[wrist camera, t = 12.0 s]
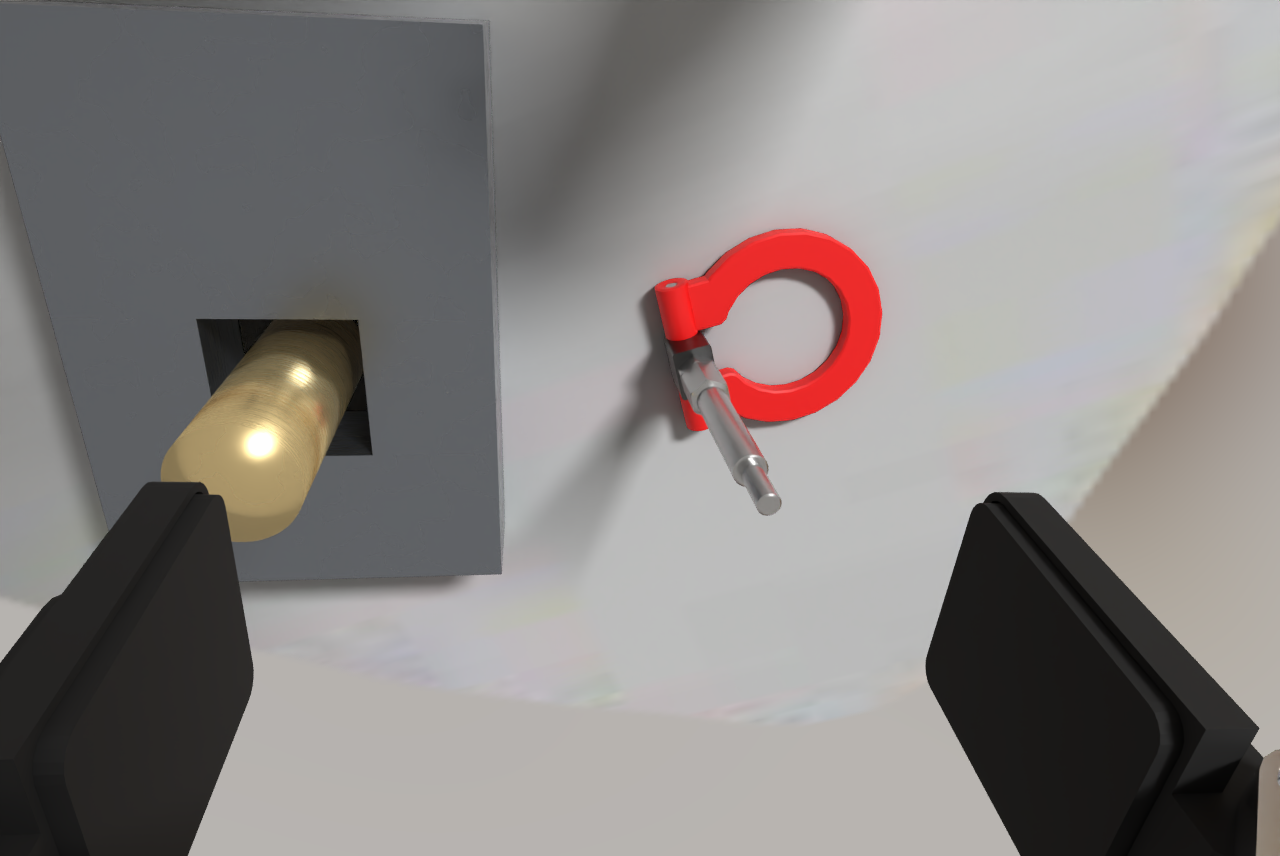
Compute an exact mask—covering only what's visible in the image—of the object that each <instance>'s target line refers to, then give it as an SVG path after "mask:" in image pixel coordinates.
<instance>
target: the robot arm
mask: <svg viewBox="0 0 1280 856" xmlns="http://www.w3.org/2000/svg"><path fill="white" fill-rule="evenodd" d="M253 671H254V670H253V662H252V656H251V650H250V644H249V639H248V633H247V627H246V621H245V616H244V610H243V604H242V598H241V593H240V587H239V581H238V575H237V570H236V564H235V558H234V552H233V547H232V541H231V535H230V529H229V524H228V518H227V512H226V506H225V503H224V500H223V498H222V496H220V495H212V494H209V492H208V490H207V488H206V486H205V485H204V484H203V483H201V482H153V481H152V482H147V483H146V484H145V485H144V486H143V487H142V488H141V490H140V491H139V492H138V494H137V495H136V496H135V498H134V499H133V500H132V502H131V503H130V504H129V506H128V507H127V508H126V509H125V511H124V512H123V513H122V515H121V516H120V517H119V519H118V520H117V521H116V523H115V524H114V525H113V527H112V528H111V529H110V531H109V532H108V533H107V535H106V536H105V537H104V539H103V540H102V541H101V543H100V544H99V545H98V547H97V548H96V549H95V551H94V552H93V553H92V555H91V556H90V557H89V559H88V560H87V561H86V563H85V564H84V565H83V567H82V568H81V569H80V571H79V572H78V573H77V575H76V576H75V577H74V579H73V580H72V581H71V583H70V584H69V585H68V587H67V588H66V589H65V591H64V592H63V593H62V594H61V595H59V596H56V597H54V598H52V599H51V600H50V601H49V602H48V603H47V604H46V605H45V606H44V607H43V608H42V609H41V611H40V612H39V613H38V614H37V616H36V617H35V618H34V620H33V621H32V622H31V624H30V625H29V626H28V627H27V629H26V630H25V631H24V633H23V634H22V635H21V637H20V638H19V639H18V641H17V642H16V643H15V644H14V646H13V647H12V648H11V650H10V651H9V652H8V654H7V655H6V656H5V657H4V659H3V660H2V662H1V663H0V856H188V853H189V851H190V848H191V846H192V843H193V841H194V838H195V836H196V833H197V830H198V828H199V825H200V823H201V820H202V818H203V815H204V813H205V810H206V808H207V805H208V802H209V800H210V797H211V795H212V792H213V789H214V787H215V785H216V782H217V779H218V777H219V774H220V772H221V769H222V767H223V764H224V762H225V759H226V757H227V754H228V752H229V749H230V746H231V744H232V741H233V739H234V736H235V734H236V731H237V729H238V726H239V724H240V721H241V718H242V716H243V713H244V711H245V708H246V706H247V703H248V701H249V697H250V695H251V691H252V686H253ZM926 676H927V680H928V683H929V685H930V688H931V690H932V691H933V693H934V695H935V697H936V699H937V701H938V703H939V705H940V706H941V708H942V710H943V712H944V714H945V716H946V718H947V719H948V721H949V723H950V725H951V727H952V729H953V731H954V732H955V734H956V736H957V738H958V740H959V742H960V743H961V745H962V747H963V749H964V751H965V753H966V755H967V757H968V759H969V760H970V762H971V764H972V766H973V768H974V770H975V772H976V774H977V775H978V777H979V779H980V781H981V783H982V785H983V787H984V788H985V790H986V792H987V794H988V796H989V798H990V800H991V801H992V803H993V805H994V807H995V809H996V811H997V813H998V814H999V816H1000V818H1001V820H1002V822H1003V824H1004V826H1005V828H1006V829H1007V831H1008V833H1009V835H1010V837H1011V839H1012V841H1013V843H1014V844H1015V846H1016V848H1017V850H1018V852H1019V854H1020V856H1280V749H1279V750H1275V751H1273V752H1271V753H1270V754H1268V755H1267V756H1265V757H1264V758H1263V757H1262V756H1261V755H1260V753H1259V752H1258V751H1257V750H1256V749H1255V748H1254V747H1253V746H1252V745H1251V742H1252V740H1253V739H1254V737H1255V735H1256V733H1257V732H1258V730H1259V727H1258V726H1257V725H1256V724H1255V723H1254V722H1253V721H1252V720H1251V719H1250V718H1249V717H1248V715H1247V714H1246V713H1245V712H1244V711H1243V710H1242V709H1241V708H1240V707H1239V706H1238V705H1237V704H1236V703H1235V702H1234V700H1233V699H1232V698H1231V697H1230V696H1229V695H1228V694H1227V693H1226V692H1225V691H1224V690H1223V689H1222V688H1221V687H1220V686H1219V684H1218V683H1217V682H1216V681H1215V680H1214V679H1213V678H1212V677H1211V676H1210V675H1209V674H1208V673H1207V672H1206V671H1205V670H1204V668H1203V667H1202V666H1201V665H1200V664H1199V663H1198V662H1197V661H1196V660H1195V659H1194V658H1193V657H1192V656H1191V655H1190V654H1189V653H1188V651H1187V650H1186V649H1185V648H1184V647H1183V646H1182V645H1181V644H1180V643H1179V642H1178V641H1177V640H1176V638H1175V637H1174V636H1173V635H1172V634H1171V633H1170V632H1169V631H1168V630H1167V629H1166V628H1165V627H1164V626H1163V625H1162V624H1161V622H1160V621H1159V620H1158V619H1157V618H1156V617H1155V616H1154V615H1153V614H1152V613H1151V612H1150V611H1149V610H1148V609H1147V608H1146V606H1145V605H1144V604H1143V603H1142V602H1141V601H1140V600H1139V599H1138V598H1137V597H1136V596H1135V595H1134V594H1133V593H1132V592H1131V590H1129V588H1128V587H1127V586H1126V585H1125V584H1124V583H1123V582H1122V581H1121V580H1120V579H1119V578H1118V577H1117V576H1116V575H1115V573H1114V572H1113V571H1112V570H1111V569H1110V568H1109V567H1108V566H1107V565H1106V564H1105V563H1104V562H1103V561H1102V559H1101V558H1100V557H1099V556H1098V555H1097V554H1096V553H1095V552H1094V551H1093V550H1092V549H1091V548H1090V547H1089V546H1088V545H1087V543H1086V542H1085V541H1084V540H1083V539H1082V538H1081V537H1080V536H1079V535H1078V534H1077V533H1076V532H1075V531H1074V530H1073V528H1072V527H1071V526H1070V525H1069V524H1068V523H1067V522H1066V521H1065V520H1064V519H1063V518H1062V517H1061V516H1060V515H1059V513H1058V512H1057V511H1056V510H1055V509H1054V508H1053V507H1052V506H1051V505H1050V504H1049V503H1048V502H1047V501H1046V500H1045V499H1044V498H1043V497H1042V496H1041V495H1039V494H1037V493H1012V492H994V493H992V494H989V496H988V497H987V498H986V499H985V501H984V503H979V504H977V505H976V506H975V507H974V508H973V510H972V512H971V514H970V518H969V521H968V524H967V527H966V531H965V534H964V537H963V540H962V544H961V547H960V550H959V553H958V557H957V560H956V563H955V566H954V569H953V573H952V576H951V579H950V582H949V586H948V589H947V592H946V595H945V599H944V602H943V605H942V608H941V612H940V615H939V618H938V621H937V625H936V628H935V631H934V634H933V637H932V641H931V644H930V647H929V650H928V654H927V658H926Z"/></svg>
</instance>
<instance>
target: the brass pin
mask: <svg viewBox="0 0 1280 856" xmlns="http://www.w3.org/2000/svg"><path fill="white" fill-rule="evenodd" d="M363 371H364V369H363V360H362V351H361V341H360V332H359V328H358V326H357V325H356V324H355V323H354V322H353V321H352V320H314V319H274V320H273V321H272V322H271V324H270V325H269V326H268V327H267V328H266V330H265V331H264V332H263V333H262V335H261V336H260V337H259V338H258V340H257V341H256V342H255V343H254V345H253V346H252V347H251V348H250V350H249V351H248V352H247V353H246V354H245V356H244V357H243V358H242V359H241V361H240V362H239V363H238V364H237V366H236V367H235V368H234V369H233V371H232V372H231V373H230V374H229V375H228V377H227V378H226V379H225V380H224V382H223V383H222V384H221V385H220V387H219V388H218V389H217V390H216V392H215V393H214V394H213V395H212V396H211V398H210V399H209V400H208V401H207V403H206V404H205V405H204V406H203V408H202V409H201V410H200V411H199V413H198V414H197V415H196V416H195V418H194V419H193V420H192V421H191V422H190V424H189V425H188V426H187V427H186V429H185V430H184V431H183V432H182V434H181V435H180V436H179V437H178V439H177V440H176V441H175V442H174V443H173V445H172V446H171V447H170V448H169V450H168V451H167V453H166V455H165V457H164V460H163V462H162V467H161V482H201V483H203V484H204V485H205V486H206V488H207V490H208V492H209V494H212V495H220V496H222V498H223V500H224V503H225V506H226V512H227V518H228V524H229V529H230V535H231V541H232V542H253V541H258V540H263V539H266V538H269V537H271V536H274V535H276V534H278V533H279V532H281V531H283V530H284V529H285V528H287V527H288V526H289V525H290V524H291V523H292V522H293V521H294V519H295V518H296V516H297V515H298V513H299V511H300V509H301V507H302V505H303V503H304V500H305V498H306V496H307V494H308V492H309V490H310V487H311V485H312V483H313V481H314V479H315V476H316V474H317V472H318V470H319V468H320V465H321V463H322V461H323V459H324V457H325V455H326V452H327V450H328V448H329V446H330V444H331V441H332V439H333V437H334V435H335V433H336V430H337V428H338V426H339V424H340V422H341V420H342V417H343V415H344V413H345V411H346V409H347V406H348V404H349V402H350V400H351V398H352V395H353V393H354V391H355V389H356V387H357V385H358V382H359V380H360V378H361V376H362V374H363Z"/></svg>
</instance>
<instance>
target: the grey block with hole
mask: <svg viewBox="0 0 1280 856" xmlns="http://www.w3.org/2000/svg"><path fill="white" fill-rule="evenodd" d="M0 136H1V139H2V143H3V147H4V150H5V154H6V158H7V161H8V165H9V168H10V172H11V176H12V179H13V183H14V187H15V190H16V194H17V198H18V201H19V205H20V209H21V212H22V216H23V220H24V223H25V227H26V231H27V234H28V238H29V241H30V245H31V249H32V252H33V256H34V260H35V263H36V267H37V271H38V274H39V278H40V282H41V285H42V289H43V293H44V296H45V300H46V304H47V307H48V311H49V314H50V318H51V322H52V325H53V329H54V333H55V336H56V340H57V344H58V347H59V351H60V355H61V358H62V362H63V366H64V369H65V373H66V377H67V380H68V384H69V388H70V391H71V395H72V398H73V402H74V406H75V409H76V413H77V417H78V420H79V424H80V428H81V431H82V435H83V439H84V442H85V446H86V450H87V453H88V457H89V461H90V464H91V468H92V471H93V475H94V479H95V482H96V486H97V490H98V493H99V497H100V501H101V504H102V508H103V512H104V515H105V519H106V523H107V526H108V530H109V531H110V529H111V528H112V527H113V525H114V524H115V523H116V521H117V520H118V519H119V517H120V516H121V515H122V513H123V512H124V511H125V509H126V508H127V507H128V506H129V504H130V503H131V502H132V500H133V499H134V498H135V496H136V495H137V494H138V492H139V491H140V490H141V488H142V487H143V486H144V485H145V484H146V483H147V482H152V481H153V482H161V467H162V462H163V460H164V457H165V455H166V453H167V451H168V450H169V448H170V447H171V446H172V445H173V443H174V442H175V441H176V440H177V439H178V437H179V436H180V435H181V434H182V432H183V431H184V430H185V429H186V427H187V426H188V425H189V424H190V422H191V421H192V420H193V419H194V418H195V416H196V415H197V414H198V413H199V411H200V410H201V409H202V408H203V406H204V405H205V404H206V403H207V401H208V400H209V399H210V398H211V396H212V395H213V394H214V393H215V392H216V390H217V389H218V388H219V387H220V385H221V384H222V383H223V382H224V380H225V379H226V378H227V377H228V375H229V374H230V373H231V372H232V371H233V369H234V368H235V367H236V366H237V364H238V363H239V362H240V361H241V359H242V358H243V357H244V352H243V346H242V340H241V335H240V329H239V323H238V319H314V320H358V323H359V332H360V341H361V351H362V360H363V369H364V379H365V388H366V397H367V407H368V411H345V413H344V415H343V417H342V420H341V422H340V424H339V426H338V428H337V430H336V433H335V435H334V437H333V439H332V441H331V444H330V446H329V448H328V450H327V452H326V455H325V457H324V459H323V461H322V463H321V465H320V468H319V470H318V472H317V474H316V476H315V479H314V481H313V483H312V485H311V487H310V490H309V492H308V494H307V496H306V498H305V500H304V503H303V505H302V507H301V509H300V511H299V513H298V515H297V516H296V518H295V519H294V521H293V522H292V523H291V524H290V525H289V526H288V527H287V528H285V529H284V530H283V531H281V532H279V533H278V534H276V535H274V536H271V537H269V538H266V539H263V540H258V541H253V542H232V547H233V552H234V558H235V564H236V570H237V575H238V581H274V580H310V579H346V578H382V577H419V576H455V575H491V574H502V561H503V544H504V528H505V512H504V480H503V448H502V416H501V384H500V352H499V320H498V288H497V255H496V223H495V191H494V159H493V127H492V95H491V63H490V31H489V21H484V20H461V19H439V18H416V17H394V16H371V15H349V14H326V13H304V12H281V11H259V10H236V9H214V8H191V7H168V6H146V5H123V4H101V3H78V2H56V1H0Z"/></svg>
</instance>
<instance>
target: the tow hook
mask: <svg viewBox="0 0 1280 856" xmlns="http://www.w3.org/2000/svg"><path fill="white" fill-rule="evenodd" d="M796 268H799V269H804V270H809V271H813V272H816V273H818V274H820V275H821V276H823V277H825V278H827V280H828V281H829V282H830V283H831V284H832V285H833V286H834V287H835V289H836V291H837V293H838V295H839V297H840V299H841V305H842V310H843V323H842V331H841V334H840V337H839V340H838V342H837V345H836V347H835V348H834V350H833V351H832V353H831V355H830V356H829V358H828V359H827V360H826V361H825V362H824V363H823V364H822V365H821V366H820V367H819V368H818V369H817V370H816V371H814V372H813V373H811V374H809V375H808V376H806V377H804V378H803V379H801V380H798V381H795V382H792V383H789V384H784V385H771V386H770V385H765V384H759V383H755V382H753V381H750V380H748V379H746V378H744V377H742V376H741V375H740V374H739V373H738V372H737V371H735V370H734V369H732V368H724V369H720V370H718V368H717V367H716V365H715V363H714V359H713V354H712V349H711V346H710V344H709V343H708V341H707V340H706V338H705V336H704V335H703V333H702V332H701V330H702V329H706V328H709V327H713V326H717V325H720V324H722V323H723V322H724V321H725V320H726V318H727V315H728V312H729V310H730V308H731V307H732V305H733V303H734V302H735V300H736V298H737V297H738V296H739V295H740V294H741V293H742V292H743V291H744V290H745V289H746V288H747V287H748V286H749V285H750V284H751V283H753V282H754V281H756V280H757V279H759V278H761V277H762V276H764V275H766V274H769V273H772V272H775V271H778V270H781V269H796ZM655 293H656V297H657V301H658V306H659V310H660V314H661V319H662V323H663V327H664V331H665V338H664V341H665V346H666V350H667V354H668V359H669V363H670V367H671V371H672V376H673V380H674V382H675V384H676V386H677V389H678V391H679V396H680V400H681V404H682V409H683V413H684V417H685V421H686V426H687V428H688V429H690V430H692V431H702V430H706V429H709V431H710V433H711V435H712V437H713V439H714V440H715V442H716V444H717V446H718V448H719V450H720V452H721V454H722V456H723V458H724V460H725V462H726V464H727V466H728V468H729V470H730V472H731V474H732V476H733V478H734V480H735V481H736V482H737V483H738V484H739V485H741V486H744V487H746V489H747V491H748V493H749V495H750V497H751V499H752V501H753V502H754V504H755V506H756V508H757V510H758V512H759V513H760V514H762V515H766V516H768V515H772V514H775V513H776V512H777V511H778V510H779V509H780V507H781V504H782V503H781V499H780V497H779V495H778V493H777V492H776V490H775V488H774V486H773V485H772V483H771V481H770V480H769V478H768V476H767V474H768V464H767V461H766V460H765V458H764V456H763V455H762V453H761V451H760V450H759V448H758V446H757V445H756V443H755V441H754V440H753V438H752V436H751V435H750V433H749V431H748V430H747V428H746V426H745V425H744V423H743V421H742V419H741V418H740V416H742V417H744V418H747V419H753V420H759V421H765V422H774V421H786V420H794V419H797V418H800V417H803V416H806V415H809V414H812V413H815V412H817V411H819V410H821V409H822V408H824V407H826V406H827V405H829V404H831V403H832V402H834V401H836V400H837V399H839V398H840V397H841V396H842V395H843V394H844V393H845V392H846V391H847V390H848V389H849V388H850V387H851V386H852V385H853V384H854V383H856V381H857V380H858V378H859V377H860V375H861V374H862V373H863V371H864V370H865V368H866V367H867V365H868V364H869V362H870V361H871V358H872V355H873V353H874V350H875V348H876V345H877V342H878V340H879V336H880V328H881V319H882V308H881V301H880V295H879V289H878V287H877V285H876V282H875V280H874V278H873V276H872V274H871V272H870V270H869V268H868V266H867V265H866V264H865V263H864V262H863V261H862V260H861V259H860V258H859V257H858V256H857V255H856V253H855V252H854V251H853V250H852V249H850V248H849V247H847V246H846V245H844V244H842V243H841V242H839V241H837V240H835V239H834V238H832V237H830V236H828V235H827V234H824V233H819V232H815V231H810V230H806V229H802V228H798V229H779V230H772V231H769V232H766V233H763V234H760V235H757V236H754V237H751V238H748V239H747V240H745V241H744V242H742V243H740V244H739V245H737V246H736V247H734V248H732V249H731V250H729V251H728V252H726V253H725V254H724V255H723V256H722V257H721V258H720V259H719V260H718V261H717V262H716V263H715V264H714V265H713V266H712V267H711V268H710V269H709V270H708V271H707V272H706V274H705V276H702V277H698V278H694V279H691V280H687V279H684V278H674V279H669V280H666V281H663V282H661V283H659V284H657V285H656V286H655Z"/></svg>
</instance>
